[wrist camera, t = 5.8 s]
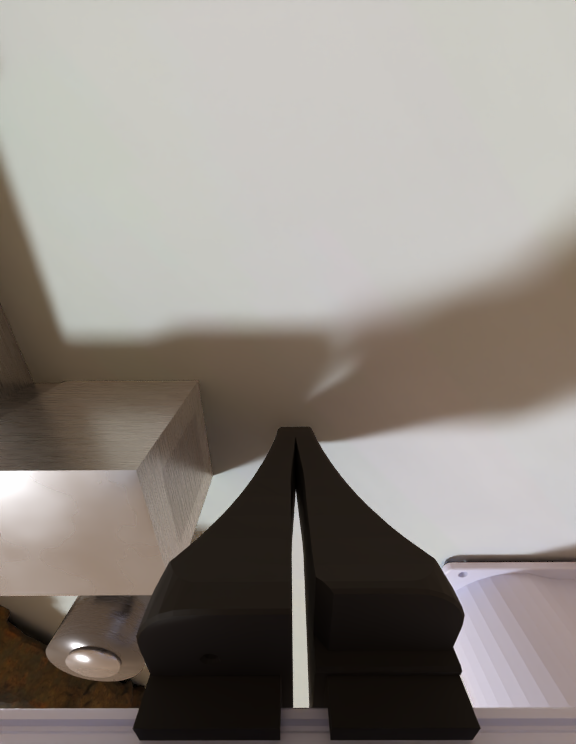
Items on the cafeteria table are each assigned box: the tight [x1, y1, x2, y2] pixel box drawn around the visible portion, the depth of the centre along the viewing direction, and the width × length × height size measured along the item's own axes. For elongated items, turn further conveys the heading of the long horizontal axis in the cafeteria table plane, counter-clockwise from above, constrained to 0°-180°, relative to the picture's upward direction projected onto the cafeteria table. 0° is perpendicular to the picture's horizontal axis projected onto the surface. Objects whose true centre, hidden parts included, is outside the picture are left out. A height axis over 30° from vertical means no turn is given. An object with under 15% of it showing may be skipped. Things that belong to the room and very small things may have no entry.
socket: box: [46, 595, 152, 681], centre depth 15 cm, size 4×4×4 cm
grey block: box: [0, 380, 213, 596], centre depth 10 cm, size 6×5×5 cm
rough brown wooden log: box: [0, 605, 145, 709], centre depth 18 cm, size 19×4×5 cm, turn 28°
